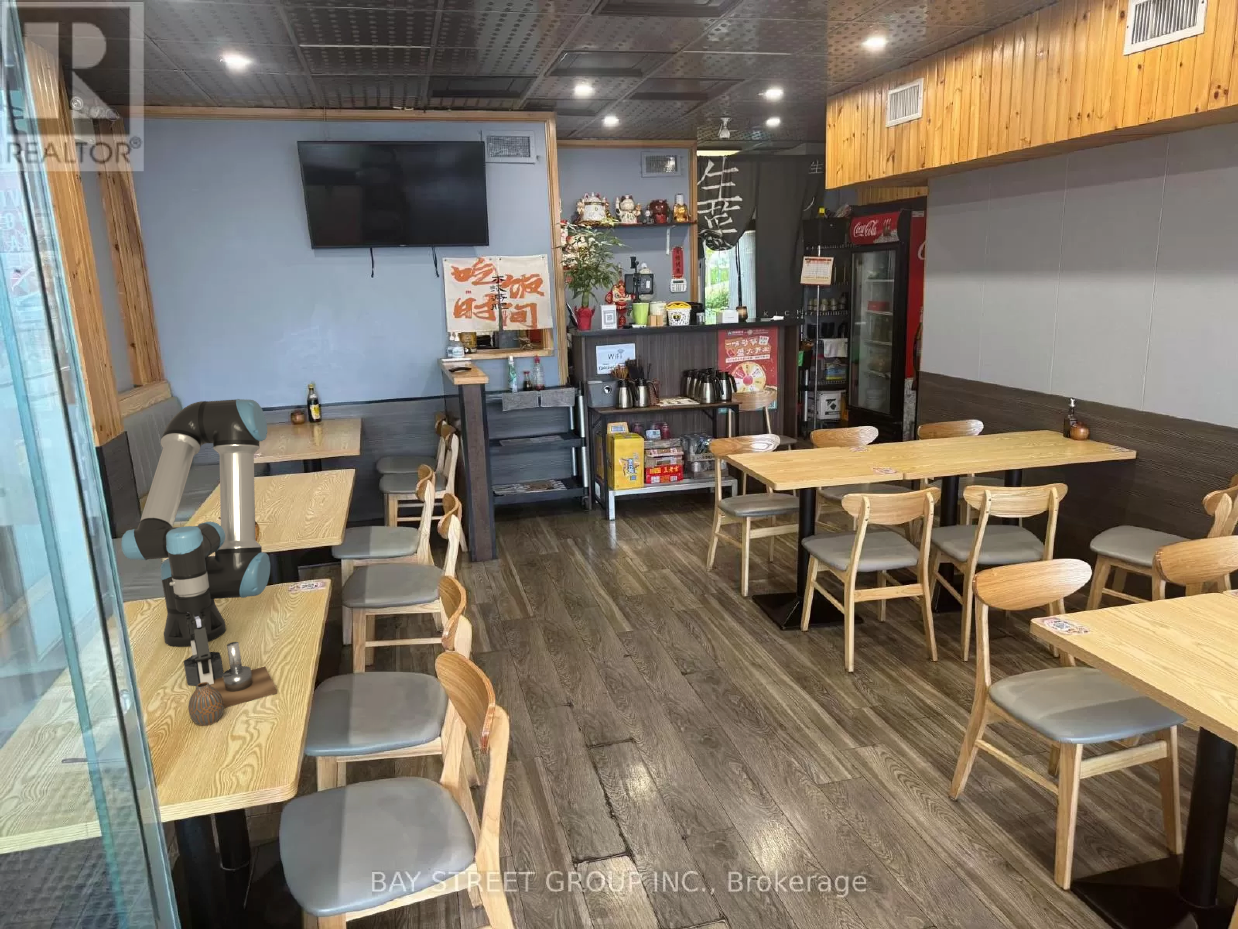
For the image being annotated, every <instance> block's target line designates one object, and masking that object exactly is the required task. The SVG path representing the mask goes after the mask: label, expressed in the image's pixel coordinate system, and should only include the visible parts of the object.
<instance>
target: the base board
mask: <svg viewBox="0 0 1238 929" xmlns="http://www.w3.org/2000/svg"><path fill="white" fill-rule="evenodd" d="M251 673H252V680H253V684H252V685H251V686H250V687H249V688H247V689H244V690H241V691H236V692H229V691H226V690H225V685H224V678H223V677H222V678H219V679H215V680H213V681H214V684H210V685H211V686H212V687H213V688H215V689H216V690H217V691H218V692H219V693H220V694H221V696H222V698H223V702H224V709H226V708H229V707H231V706H235V705H236V706H237V705H239V704H243V703H247V702H250V701H254V700H257V699H262V698H264V697H268V696H271V695H275V694H277V693H278V691H277V686H276V685H275V683H274V681H273V680H272V677H271V675H270V673H269V672H268V669H267V668H266V666H261V667H257V668H253V669H251Z"/></svg>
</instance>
